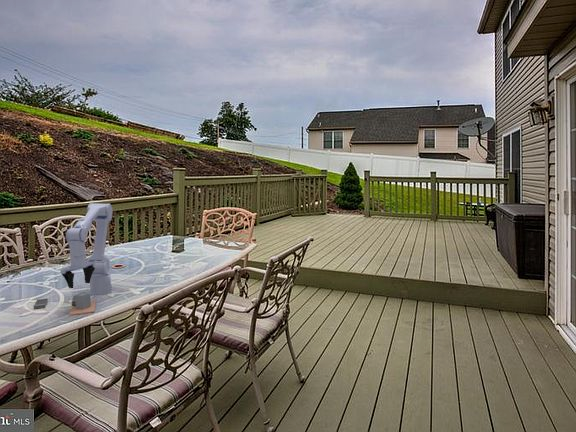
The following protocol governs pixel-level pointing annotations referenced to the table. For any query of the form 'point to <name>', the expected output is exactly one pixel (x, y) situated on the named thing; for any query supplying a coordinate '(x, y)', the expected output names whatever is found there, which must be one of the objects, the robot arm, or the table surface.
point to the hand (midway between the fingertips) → (79, 285)
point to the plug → (82, 300)
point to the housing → (43, 302)
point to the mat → (79, 311)
